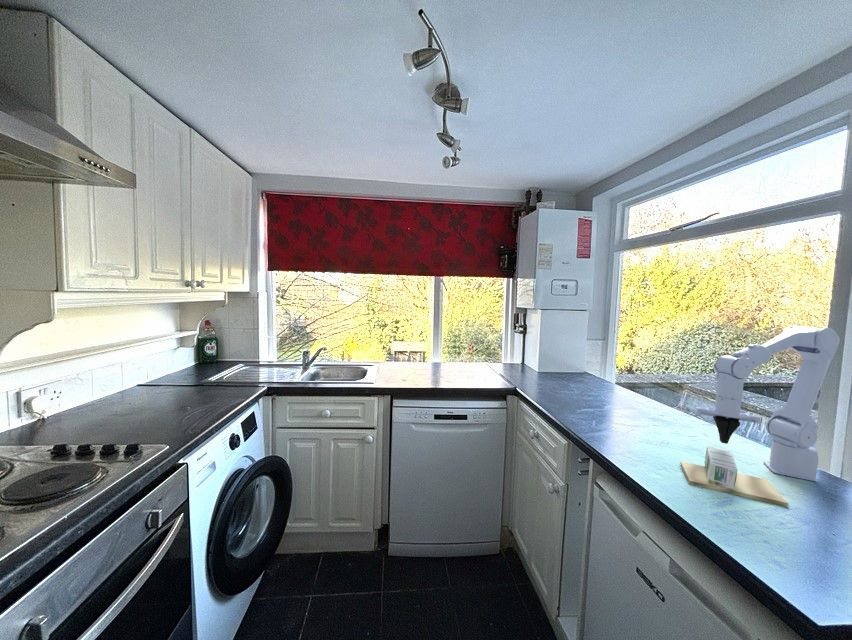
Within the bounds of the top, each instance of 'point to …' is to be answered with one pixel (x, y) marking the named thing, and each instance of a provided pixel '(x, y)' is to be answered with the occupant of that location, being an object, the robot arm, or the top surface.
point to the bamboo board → (736, 485)
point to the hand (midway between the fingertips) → (723, 442)
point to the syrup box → (720, 467)
